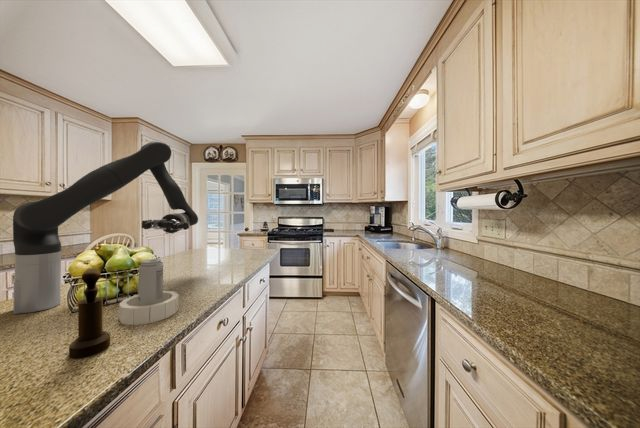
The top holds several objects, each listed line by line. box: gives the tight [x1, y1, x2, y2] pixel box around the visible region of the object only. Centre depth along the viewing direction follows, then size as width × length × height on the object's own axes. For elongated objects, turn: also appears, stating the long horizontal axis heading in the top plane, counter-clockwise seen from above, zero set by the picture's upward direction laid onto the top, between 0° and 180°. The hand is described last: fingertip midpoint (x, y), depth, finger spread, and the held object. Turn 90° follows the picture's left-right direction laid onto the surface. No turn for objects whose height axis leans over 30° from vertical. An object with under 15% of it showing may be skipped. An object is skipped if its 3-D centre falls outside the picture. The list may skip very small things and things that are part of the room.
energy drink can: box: [137, 258, 164, 306], centre depth 70 cm, size 6×6×15 cm
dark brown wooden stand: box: [68, 268, 111, 360], centre depth 52 cm, size 7×6×18 cm
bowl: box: [118, 290, 179, 326], centre depth 70 cm, size 14×14×4 cm
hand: (159, 226), depth 79 cm, fingers open, 8 cm apart
